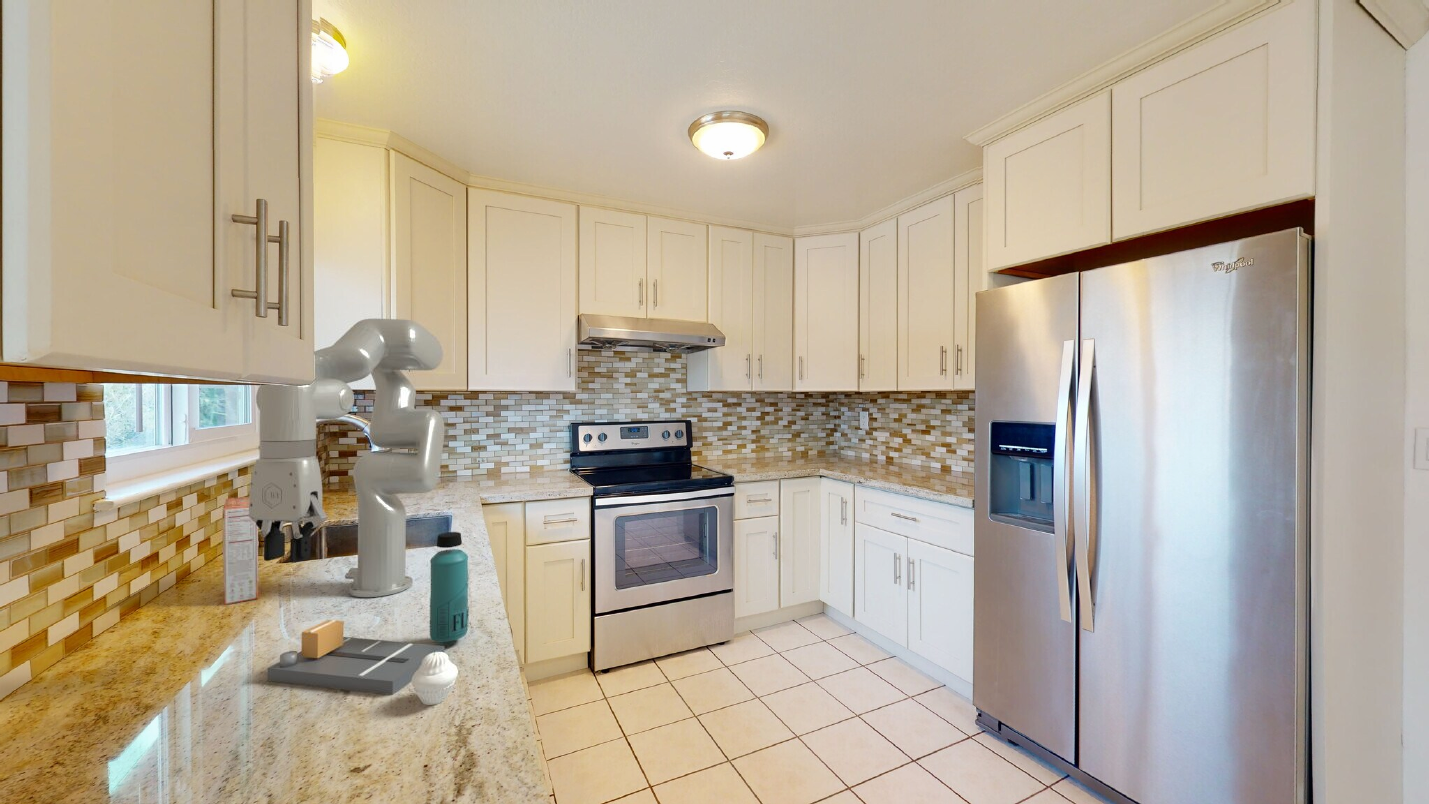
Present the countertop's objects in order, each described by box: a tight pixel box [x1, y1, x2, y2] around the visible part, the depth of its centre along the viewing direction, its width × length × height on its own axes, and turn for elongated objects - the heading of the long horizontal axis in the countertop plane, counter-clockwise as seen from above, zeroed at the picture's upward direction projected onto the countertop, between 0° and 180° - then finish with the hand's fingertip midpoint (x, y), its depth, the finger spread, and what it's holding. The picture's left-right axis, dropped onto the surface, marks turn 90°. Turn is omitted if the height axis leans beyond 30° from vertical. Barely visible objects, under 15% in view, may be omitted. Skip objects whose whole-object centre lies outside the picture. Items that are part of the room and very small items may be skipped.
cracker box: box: [222, 496, 259, 605], centre depth 123 cm, size 14×6×21 cm, turn 40°
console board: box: [266, 636, 445, 696], centre depth 90 cm, size 22×12×4 cm, turn 81°
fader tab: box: [301, 619, 344, 658], centre depth 91 cm, size 3×5×4 cm, turn 171°
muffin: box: [410, 651, 459, 706], centre depth 81 cm, size 6×6×7 cm
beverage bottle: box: [428, 531, 470, 643], centre depth 100 cm, size 6×7×20 cm
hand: (287, 558), depth 92 cm, fingers open, 4 cm apart
